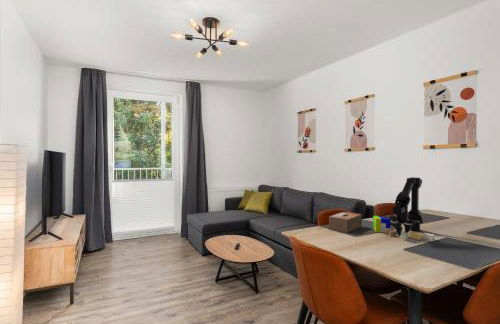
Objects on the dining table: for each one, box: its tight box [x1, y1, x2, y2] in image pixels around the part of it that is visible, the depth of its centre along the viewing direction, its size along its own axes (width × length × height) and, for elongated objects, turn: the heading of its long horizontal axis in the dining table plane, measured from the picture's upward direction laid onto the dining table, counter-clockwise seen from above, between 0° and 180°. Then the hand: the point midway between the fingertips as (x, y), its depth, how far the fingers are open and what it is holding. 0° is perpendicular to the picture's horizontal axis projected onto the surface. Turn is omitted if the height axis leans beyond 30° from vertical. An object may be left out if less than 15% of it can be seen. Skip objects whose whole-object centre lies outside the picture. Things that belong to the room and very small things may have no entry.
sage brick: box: [396, 230, 409, 239], centre depth 197 cm, size 6×3×4 cm, turn 27°
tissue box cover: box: [328, 211, 363, 234], centre depth 221 cm, size 26×14×10 cm, turn 136°
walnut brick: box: [384, 229, 396, 237], centre depth 201 cm, size 6×3×4 cm, turn 11°
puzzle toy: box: [372, 215, 392, 234], centre depth 213 cm, size 10×10×10 cm
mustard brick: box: [409, 231, 423, 241], centre depth 193 cm, size 6×3×4 cm, turn 29°
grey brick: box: [422, 232, 436, 242], centre depth 192 cm, size 6×3×4 cm, turn 32°
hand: (402, 235), depth 197 cm, fingers open, 7 cm apart
